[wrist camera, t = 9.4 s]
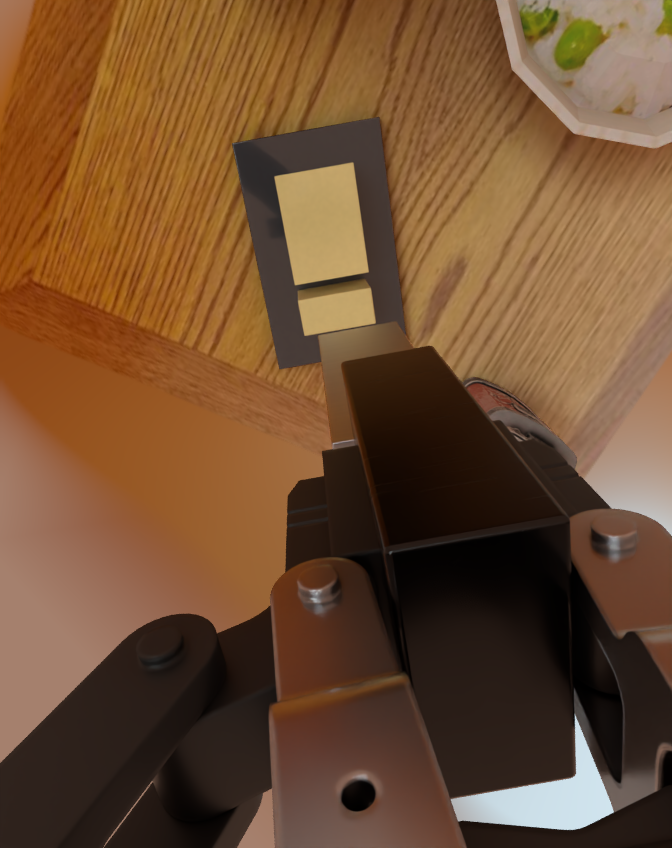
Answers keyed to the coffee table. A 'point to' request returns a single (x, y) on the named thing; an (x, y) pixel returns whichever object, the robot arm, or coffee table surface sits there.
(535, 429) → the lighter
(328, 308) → the butter pat
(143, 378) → the coffee table surface
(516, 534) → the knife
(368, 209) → the butter board
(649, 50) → the bowl
